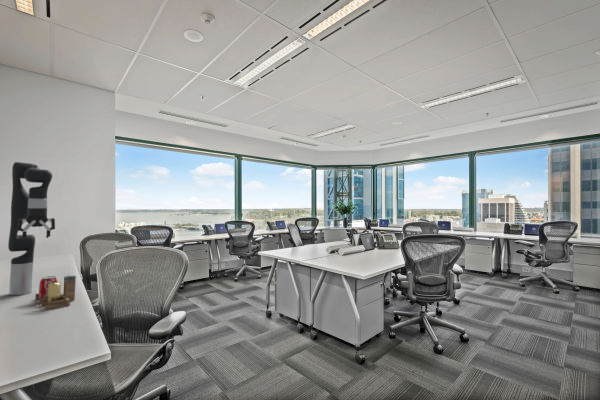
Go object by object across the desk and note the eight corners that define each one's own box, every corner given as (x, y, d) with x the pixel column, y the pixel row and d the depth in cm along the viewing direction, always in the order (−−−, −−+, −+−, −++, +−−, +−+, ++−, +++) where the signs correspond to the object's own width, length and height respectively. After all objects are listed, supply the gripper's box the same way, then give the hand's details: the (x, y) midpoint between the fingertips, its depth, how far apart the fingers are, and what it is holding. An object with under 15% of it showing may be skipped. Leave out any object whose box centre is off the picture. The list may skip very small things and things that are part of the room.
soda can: (59, 298, 154) (60, 276, 155) (47, 302, 147) (48, 279, 148) (48, 298, 155) (49, 275, 156) (34, 301, 148) (35, 278, 149)
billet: (46, 305, 142) (48, 283, 143) (58, 303, 145) (59, 282, 146) (48, 308, 139) (49, 285, 139) (60, 305, 142) (61, 283, 143)
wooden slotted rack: (35, 299, 152) (36, 275, 152) (66, 294, 162) (67, 272, 163) (45, 310, 136) (47, 283, 137) (79, 303, 146) (80, 278, 147)
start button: (66, 280, 152) (66, 275, 152) (71, 279, 154) (72, 274, 154) (67, 280, 151) (68, 276, 151) (73, 280, 152) (73, 275, 152)
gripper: (54, 207, 157) (53, 236, 157) (18, 206, 147) (16, 238, 147) (56, 207, 152) (55, 238, 152) (19, 207, 141) (17, 240, 141)
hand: (36, 238), depth 149 cm, fingers open, 8 cm apart
